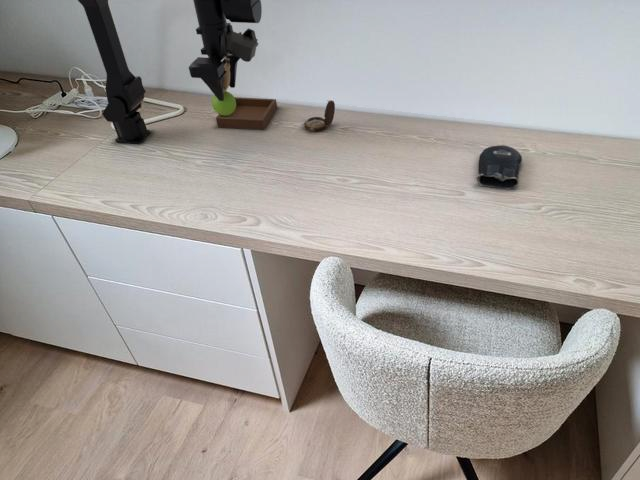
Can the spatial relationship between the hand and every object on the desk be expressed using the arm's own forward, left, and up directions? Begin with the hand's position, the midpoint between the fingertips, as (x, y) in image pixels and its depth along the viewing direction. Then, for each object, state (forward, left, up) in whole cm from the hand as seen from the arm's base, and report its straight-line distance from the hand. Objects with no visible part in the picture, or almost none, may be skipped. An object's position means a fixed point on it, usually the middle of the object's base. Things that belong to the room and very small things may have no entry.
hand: (227, 93), depth 113 cm
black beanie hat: (+63, -5, -13) cm, 65 cm away
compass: (+18, +10, -13) cm, 25 cm away
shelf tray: (-2, +14, -13) cm, 19 cm away
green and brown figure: (-1, -1, -5) cm, 5 cm away
